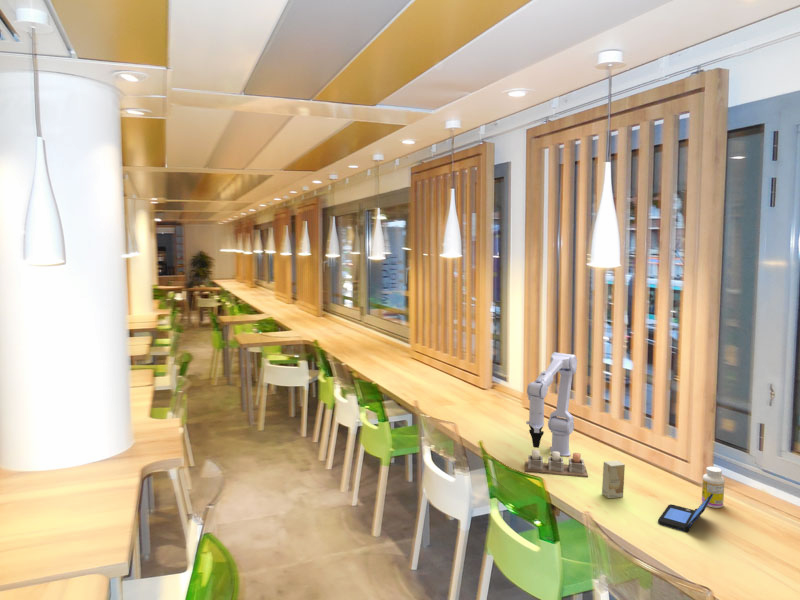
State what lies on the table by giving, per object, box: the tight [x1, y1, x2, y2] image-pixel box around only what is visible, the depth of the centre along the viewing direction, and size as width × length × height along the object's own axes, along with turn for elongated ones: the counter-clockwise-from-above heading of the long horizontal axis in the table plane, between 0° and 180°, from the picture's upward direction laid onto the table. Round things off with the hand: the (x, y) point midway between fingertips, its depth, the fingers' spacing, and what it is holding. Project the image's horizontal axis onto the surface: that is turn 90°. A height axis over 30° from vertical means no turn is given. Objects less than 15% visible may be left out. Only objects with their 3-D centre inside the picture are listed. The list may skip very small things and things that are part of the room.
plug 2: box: [551, 451, 561, 462], centre depth 226 cm, size 3×3×3 cm
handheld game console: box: [657, 494, 713, 533], centre depth 183 cm, size 16×13×9 cm
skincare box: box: [601, 460, 626, 499], centre depth 202 cm, size 6×4×12 cm
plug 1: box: [531, 449, 540, 460], centre depth 227 cm, size 3×3×3 cm
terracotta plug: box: [572, 452, 582, 463], centre depth 224 cm, size 3×3×3 cm
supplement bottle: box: [701, 466, 725, 509], centre depth 195 cm, size 7×7×13 cm
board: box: [524, 454, 589, 478], centre depth 226 cm, size 10×24×4 cm, turn 78°
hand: (535, 444), depth 227 cm, fingers open, 6 cm apart
